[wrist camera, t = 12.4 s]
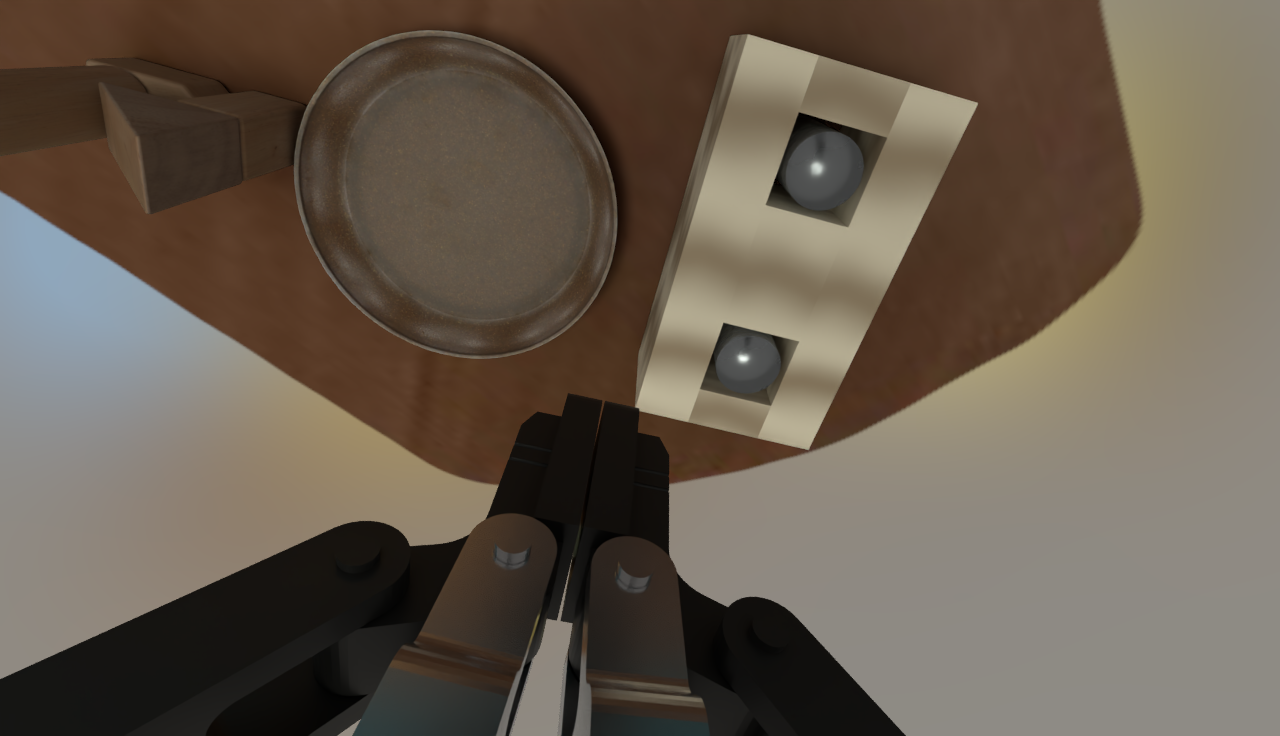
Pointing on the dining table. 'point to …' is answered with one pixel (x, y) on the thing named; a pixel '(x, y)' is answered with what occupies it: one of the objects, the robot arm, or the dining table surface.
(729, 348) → the outer peg
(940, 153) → the birch block
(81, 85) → the wooden block
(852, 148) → the inner peg
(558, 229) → the plant saucer
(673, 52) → the dining table surface
